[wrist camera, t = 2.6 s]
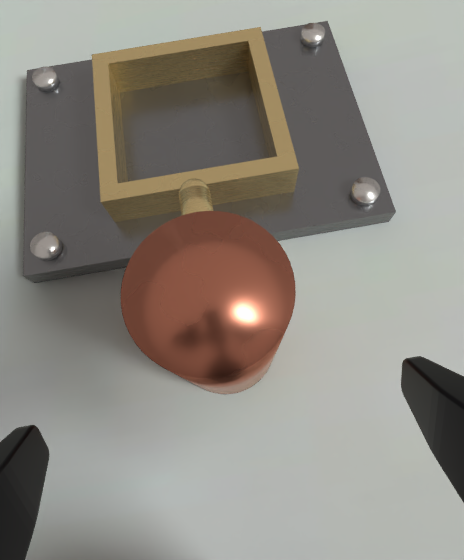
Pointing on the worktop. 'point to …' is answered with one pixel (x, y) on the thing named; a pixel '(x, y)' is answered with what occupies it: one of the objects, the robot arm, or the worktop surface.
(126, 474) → the worktop surface
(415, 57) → the worktop surface
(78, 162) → the gray mounting plate
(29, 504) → the robot arm
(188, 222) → the copper cylinder
